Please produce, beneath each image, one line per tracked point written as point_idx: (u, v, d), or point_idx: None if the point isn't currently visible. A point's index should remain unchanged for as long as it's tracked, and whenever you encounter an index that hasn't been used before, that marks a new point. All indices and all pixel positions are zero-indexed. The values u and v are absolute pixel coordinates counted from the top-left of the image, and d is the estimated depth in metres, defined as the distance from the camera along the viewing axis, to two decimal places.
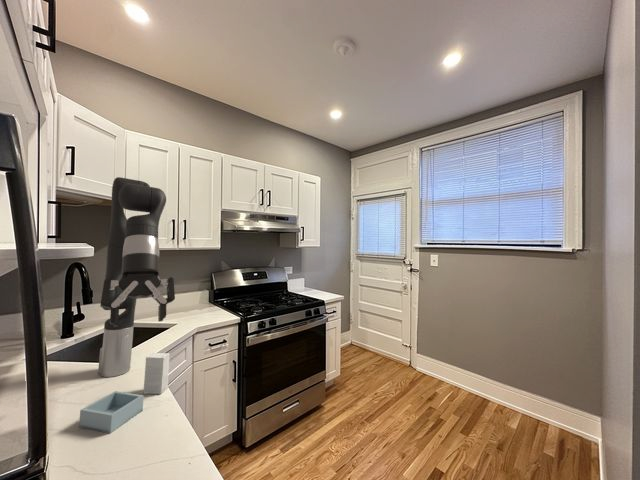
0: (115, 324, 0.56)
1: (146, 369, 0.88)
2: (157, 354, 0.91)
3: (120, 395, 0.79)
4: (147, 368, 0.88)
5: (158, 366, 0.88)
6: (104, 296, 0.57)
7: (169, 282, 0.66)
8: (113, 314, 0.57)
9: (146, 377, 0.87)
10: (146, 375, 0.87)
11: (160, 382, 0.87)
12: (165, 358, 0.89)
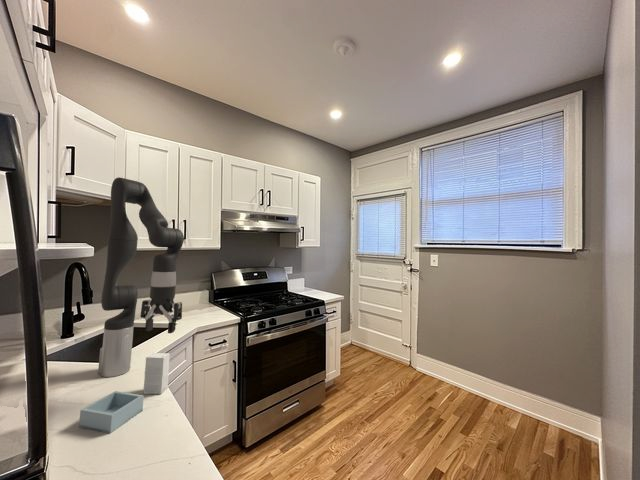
0: (146, 330, 0.90)
1: (146, 369, 0.88)
2: (157, 354, 0.91)
3: (120, 395, 0.79)
4: (147, 368, 0.88)
5: (158, 366, 0.88)
6: (142, 312, 0.91)
7: (174, 307, 0.89)
8: None
9: (146, 377, 0.87)
10: (146, 375, 0.87)
11: (160, 382, 0.87)
12: (165, 358, 0.89)
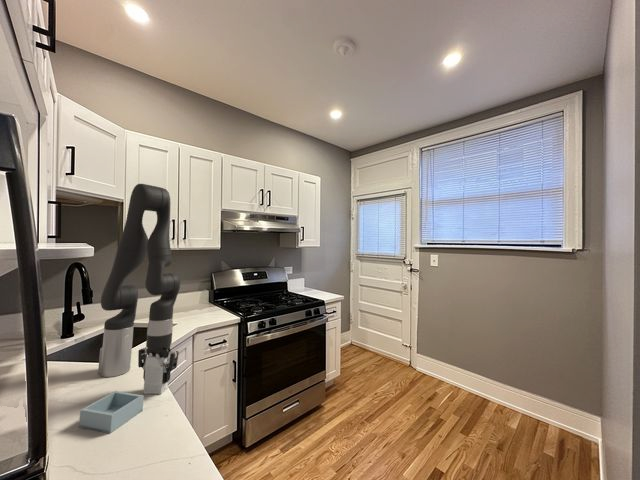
0: None
1: (146, 369, 0.88)
2: None
3: (120, 395, 0.79)
4: (147, 368, 0.88)
5: (158, 366, 0.88)
6: (139, 361, 0.90)
7: (170, 357, 0.88)
8: (144, 373, 0.89)
9: (146, 377, 0.87)
10: (146, 375, 0.87)
11: (160, 382, 0.87)
12: (165, 358, 0.89)
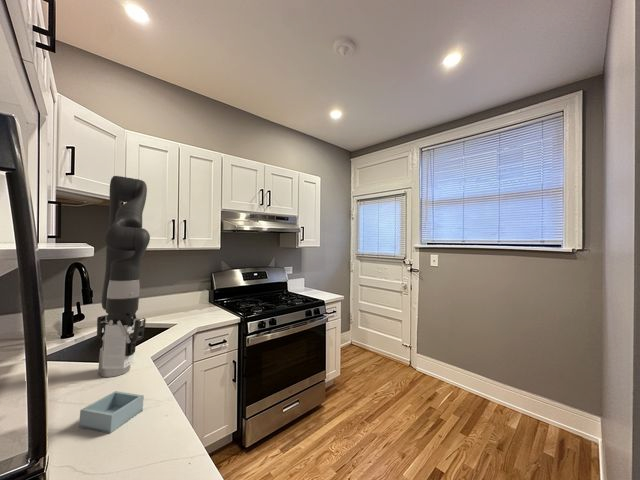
0: None
1: (105, 339, 0.73)
2: None
3: (120, 395, 0.79)
4: (107, 338, 0.73)
5: (119, 335, 0.73)
6: (98, 330, 0.75)
7: (135, 324, 0.73)
8: None
9: (106, 348, 0.73)
10: (106, 346, 0.73)
11: (123, 354, 0.73)
12: (129, 326, 0.75)
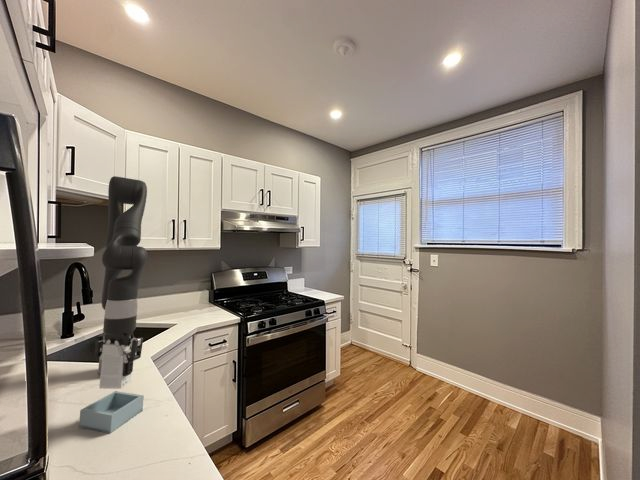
0: None
1: (103, 359, 0.73)
2: None
3: (120, 395, 0.79)
4: (104, 358, 0.73)
5: (117, 355, 0.73)
6: (96, 350, 0.75)
7: (132, 344, 0.73)
8: None
9: (103, 368, 0.73)
10: (103, 366, 0.73)
11: (120, 374, 0.73)
12: (126, 346, 0.74)
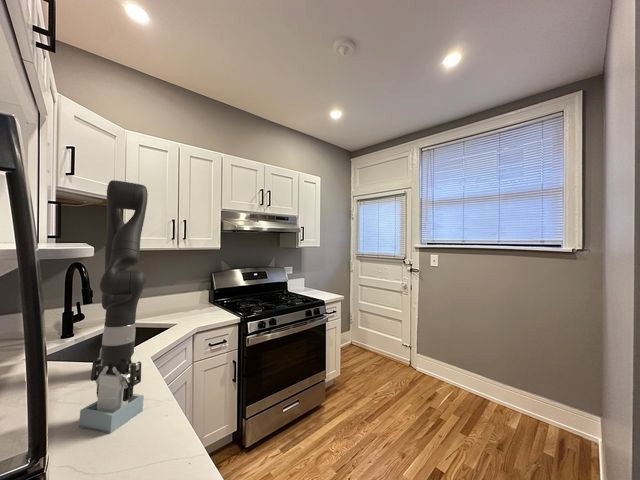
0: (97, 396, 0.74)
1: (99, 390, 0.73)
2: None
3: None
4: (101, 389, 0.73)
5: (113, 387, 0.73)
6: (92, 373, 0.75)
7: (131, 369, 0.73)
8: (98, 388, 0.75)
9: (100, 399, 0.72)
10: (99, 397, 0.72)
11: (116, 406, 0.72)
12: None
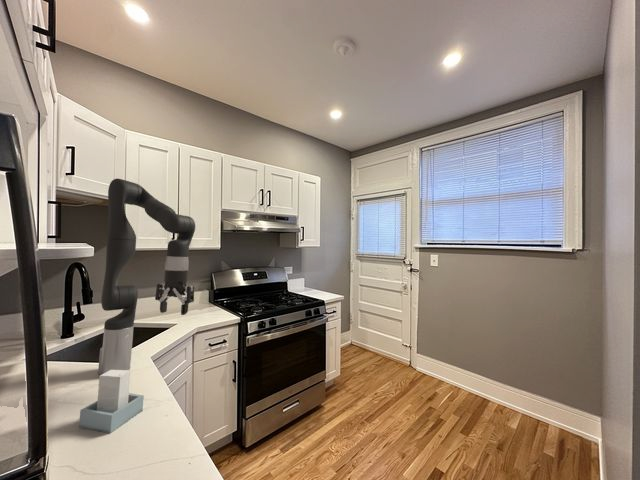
0: (161, 312, 0.95)
1: (99, 390, 0.73)
2: (115, 371, 0.76)
3: None
4: (101, 389, 0.73)
5: (113, 387, 0.73)
6: (156, 294, 0.96)
7: (187, 290, 0.93)
8: (161, 305, 0.96)
9: (100, 399, 0.72)
10: (99, 397, 0.72)
11: (116, 406, 0.72)
12: (123, 377, 0.74)
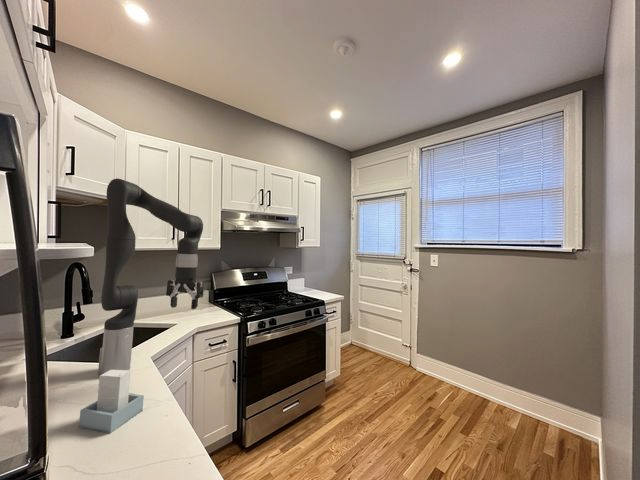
0: None
1: (99, 390, 0.73)
2: (115, 371, 0.76)
3: None
4: (101, 389, 0.73)
5: (113, 387, 0.73)
6: (167, 290, 1.01)
7: (197, 285, 0.99)
8: (171, 301, 1.01)
9: (100, 399, 0.72)
10: (99, 397, 0.73)
11: (116, 406, 0.72)
12: (123, 377, 0.74)
